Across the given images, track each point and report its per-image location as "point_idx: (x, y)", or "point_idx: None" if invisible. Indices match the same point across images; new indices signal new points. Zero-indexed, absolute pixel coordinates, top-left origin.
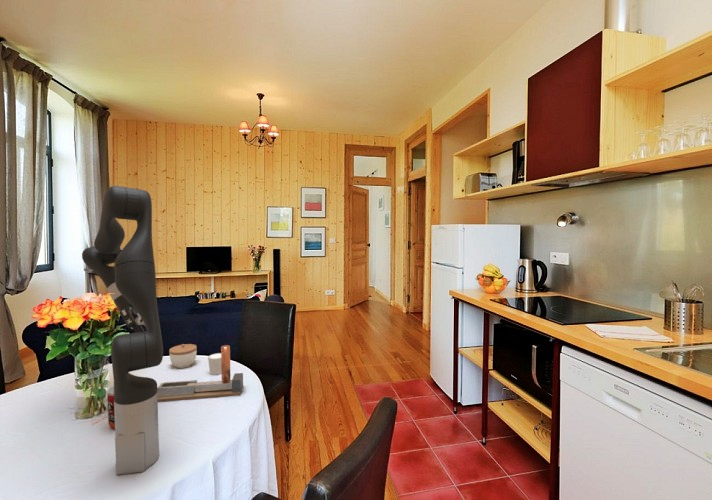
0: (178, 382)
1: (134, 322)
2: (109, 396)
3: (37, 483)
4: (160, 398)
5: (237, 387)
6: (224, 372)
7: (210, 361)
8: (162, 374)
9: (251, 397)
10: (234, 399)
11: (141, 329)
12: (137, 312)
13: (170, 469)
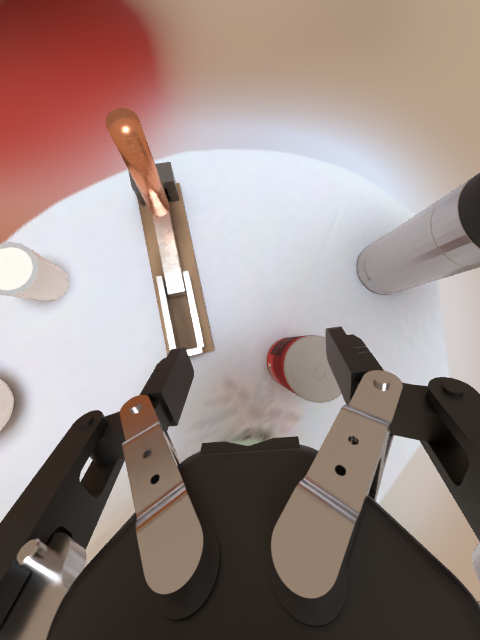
0: (169, 317)
1: (462, 384)
2: None
3: (433, 374)
4: (209, 341)
5: (175, 182)
6: (163, 188)
7: (40, 282)
8: (60, 427)
9: (188, 163)
10: (197, 194)
11: (354, 353)
12: (359, 519)
13: (390, 217)
